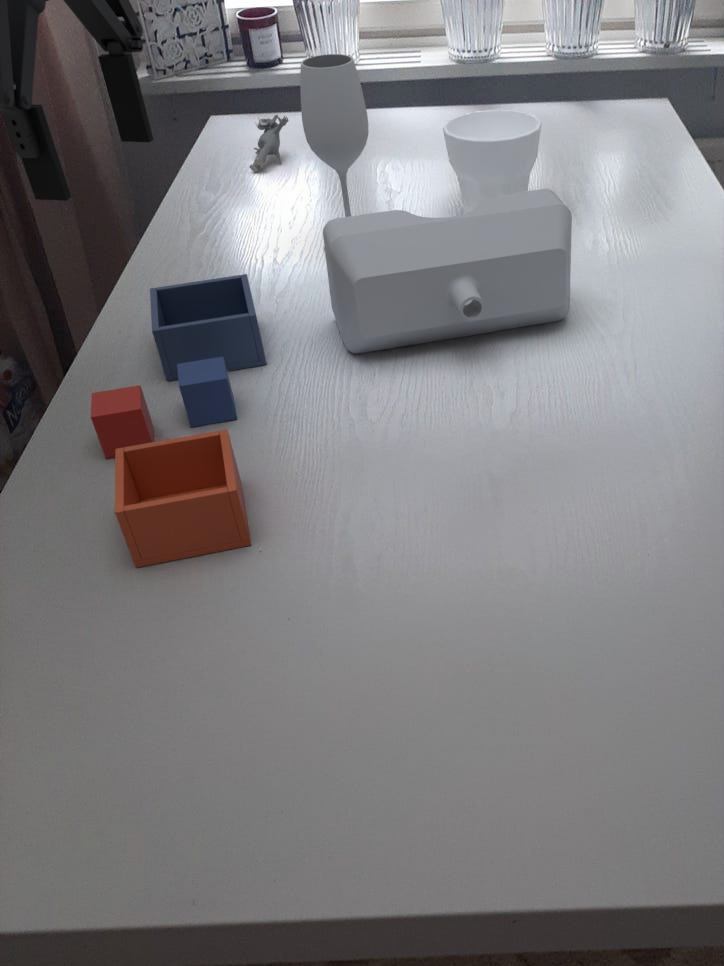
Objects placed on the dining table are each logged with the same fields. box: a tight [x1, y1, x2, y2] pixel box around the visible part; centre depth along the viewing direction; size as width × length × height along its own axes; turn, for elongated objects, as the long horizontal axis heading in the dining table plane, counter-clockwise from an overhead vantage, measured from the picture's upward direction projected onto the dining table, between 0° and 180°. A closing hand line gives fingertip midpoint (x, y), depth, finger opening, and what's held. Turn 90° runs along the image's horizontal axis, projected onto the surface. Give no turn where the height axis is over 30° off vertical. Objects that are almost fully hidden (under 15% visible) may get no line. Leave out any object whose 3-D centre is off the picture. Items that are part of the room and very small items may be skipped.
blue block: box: [177, 357, 238, 428], centre depth 94 cm, size 4×4×4 cm
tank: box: [322, 188, 573, 354], centre depth 101 cm, size 25×16×12 cm, turn 105°
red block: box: [90, 384, 155, 459], centre depth 91 cm, size 4×4×4 cm
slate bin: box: [149, 273, 268, 382], centre depth 103 cm, size 10×10×6 cm
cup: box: [442, 109, 542, 214], centre depth 125 cm, size 12×12×11 cm
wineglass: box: [299, 53, 369, 252], centre depth 116 cm, size 8×8×21 cm
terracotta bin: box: [114, 428, 252, 569], centre depth 81 cm, size 9×9×6 cm
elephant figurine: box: [249, 114, 290, 174], centre depth 146 cm, size 10×6×9 cm
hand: (98, 168), depth 80 cm, fingers open, 13 cm apart
